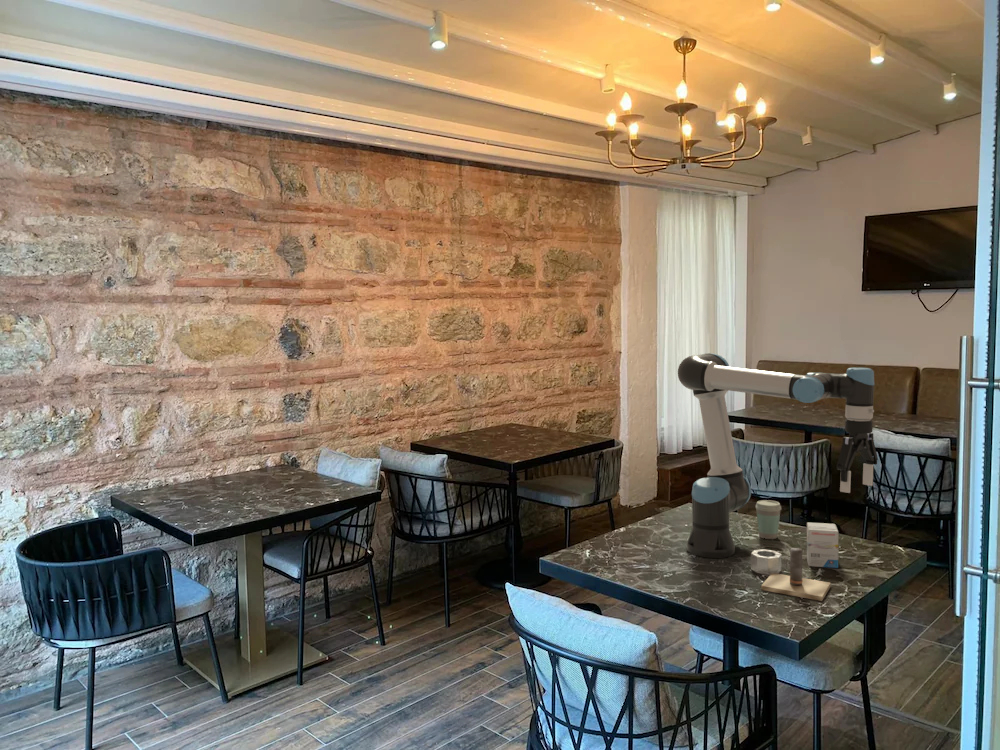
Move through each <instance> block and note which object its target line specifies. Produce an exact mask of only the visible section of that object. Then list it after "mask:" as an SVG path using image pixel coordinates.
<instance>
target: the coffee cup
mask: <svg viewBox="0 0 1000 750" xmlns="http://www.w3.org/2000/svg"><path fill="white" fill-rule="evenodd" d="M754 507H755V509H756V519H757V527H758V529H757V530H758V535H759V538H761V539H764V538H765V539H766V540H775V539H777V538H778V532H779V525H780V517H781V516H780V515H781V511H782V505H781V503H780V502H779V501H776V500H770V499H768V500H767V499H763V500H758V501H756V504H755V506H754Z"/></svg>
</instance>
